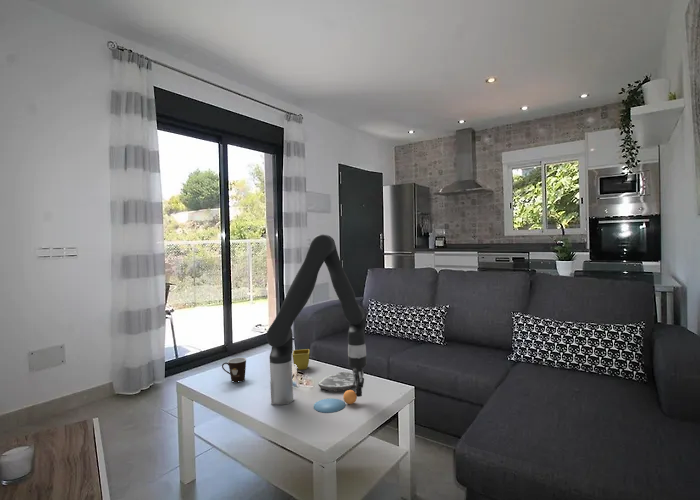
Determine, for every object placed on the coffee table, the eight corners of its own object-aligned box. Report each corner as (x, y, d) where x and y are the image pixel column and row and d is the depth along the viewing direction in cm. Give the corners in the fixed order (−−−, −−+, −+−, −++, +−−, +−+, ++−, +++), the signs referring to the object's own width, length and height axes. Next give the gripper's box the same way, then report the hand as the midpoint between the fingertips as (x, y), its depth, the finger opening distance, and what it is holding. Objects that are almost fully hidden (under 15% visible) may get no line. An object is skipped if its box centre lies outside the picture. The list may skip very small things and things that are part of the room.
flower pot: (294, 366, 207) (293, 349, 207) (310, 365, 208) (309, 348, 208) (293, 371, 198) (292, 354, 198) (309, 370, 199) (309, 353, 199)
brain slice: (343, 397, 164) (343, 390, 164) (312, 390, 174) (312, 383, 173) (367, 382, 180) (366, 376, 180) (337, 376, 190) (337, 370, 190)
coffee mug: (250, 378, 190) (249, 358, 190) (237, 384, 183) (236, 364, 183) (234, 375, 196) (234, 355, 196) (221, 380, 189) (220, 360, 189)
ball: (359, 404, 155) (346, 408, 154) (356, 397, 160) (344, 402, 159) (356, 391, 154) (343, 396, 153) (353, 385, 159) (340, 390, 158)
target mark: (314, 414, 148) (314, 413, 148) (312, 400, 161) (312, 400, 161) (347, 410, 150) (347, 410, 150) (342, 397, 163) (342, 397, 163)
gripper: (345, 350, 163) (347, 390, 163) (350, 360, 150) (352, 403, 150) (362, 349, 164) (364, 388, 165) (369, 358, 151) (371, 401, 151)
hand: (359, 395), depth 157 cm, fingers closed
